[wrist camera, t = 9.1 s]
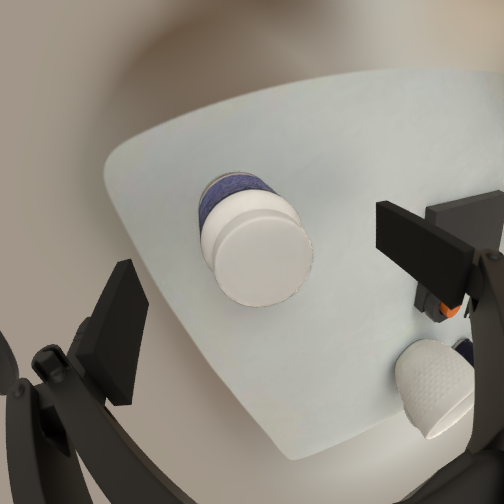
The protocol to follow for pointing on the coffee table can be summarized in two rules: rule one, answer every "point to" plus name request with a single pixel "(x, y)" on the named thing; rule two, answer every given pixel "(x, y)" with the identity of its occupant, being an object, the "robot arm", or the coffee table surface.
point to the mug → (434, 386)
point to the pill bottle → (252, 240)
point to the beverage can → (465, 350)
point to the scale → (464, 234)
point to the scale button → (448, 310)
